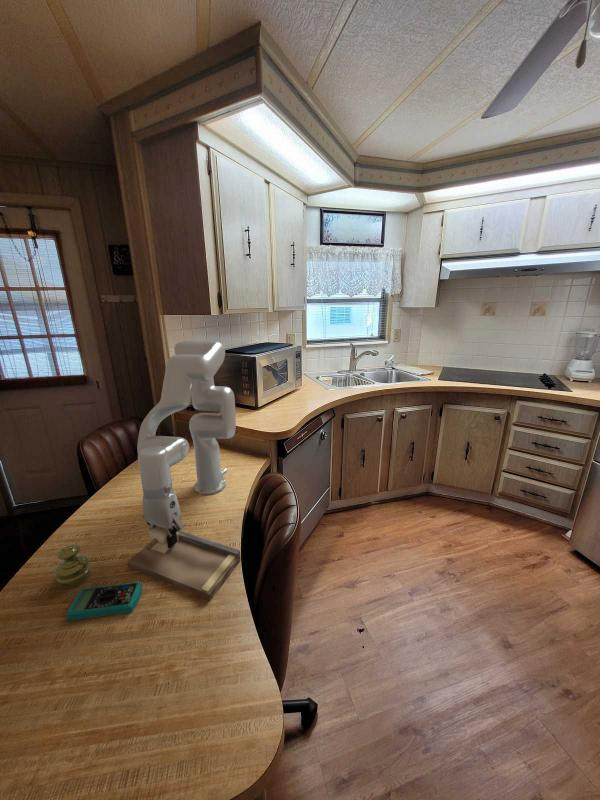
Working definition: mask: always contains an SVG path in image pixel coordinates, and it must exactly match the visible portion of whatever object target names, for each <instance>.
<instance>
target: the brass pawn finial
mask: <svg viewBox="0 0 600 800" xmlns="http://www.w3.org/2000/svg"><path fill="white" fill-rule="evenodd" d="M81 548H82V547H81V545H80V544H77V543H72V544H69V545H66V546H64V547H63V548H61V549H60V550H58V551H57V553H56V558H57V559H58V560H62V561H61V562H60V563H58V565H57V566H56V568H55V570H54V575H55V577H56V579H55V580H56V582H57V587H59V588H60V589H63V590H70V589H74V588H76V587H79V586H80V585H83V584H84V582H86V581H87V580H88V579H89V578H90V576H91V575H92V568H91V567H92V566H91V564H90V558H89V556H87V555H85V554H78V553H80V551H81Z"/></svg>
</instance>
